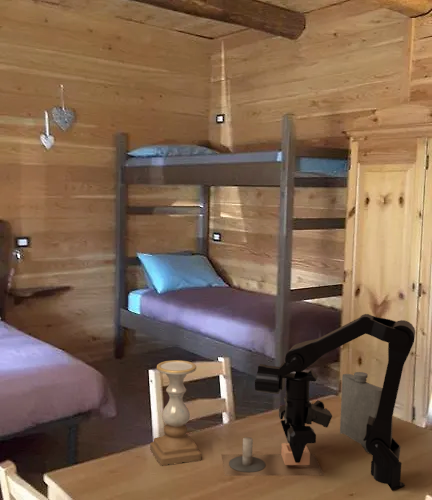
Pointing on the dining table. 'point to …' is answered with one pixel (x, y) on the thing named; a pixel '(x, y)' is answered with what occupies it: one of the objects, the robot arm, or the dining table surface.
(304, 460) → the collar
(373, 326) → the robot arm
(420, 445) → the dining table surface
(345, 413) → the hip flask
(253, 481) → the dining table surface
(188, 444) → the candle holder
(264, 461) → the post board
